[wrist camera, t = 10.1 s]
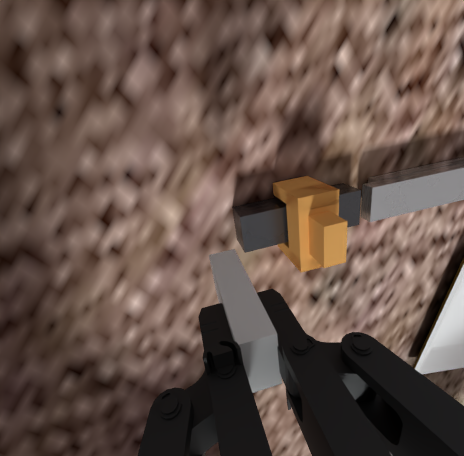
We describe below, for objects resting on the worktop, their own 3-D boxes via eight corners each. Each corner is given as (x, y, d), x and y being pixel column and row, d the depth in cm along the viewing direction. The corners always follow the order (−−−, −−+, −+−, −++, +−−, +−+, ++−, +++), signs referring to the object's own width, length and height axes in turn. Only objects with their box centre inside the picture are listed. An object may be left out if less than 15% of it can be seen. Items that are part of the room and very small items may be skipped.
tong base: (238, 244, 23) (245, 257, 21) (231, 201, 22) (239, 210, 20) (567, 165, 29) (599, 169, 27) (582, 126, 28) (617, 127, 25)
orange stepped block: (277, 246, 24) (314, 287, 18) (272, 183, 22) (313, 208, 16) (308, 238, 25) (354, 276, 19) (307, 175, 22) (358, 197, 16)
